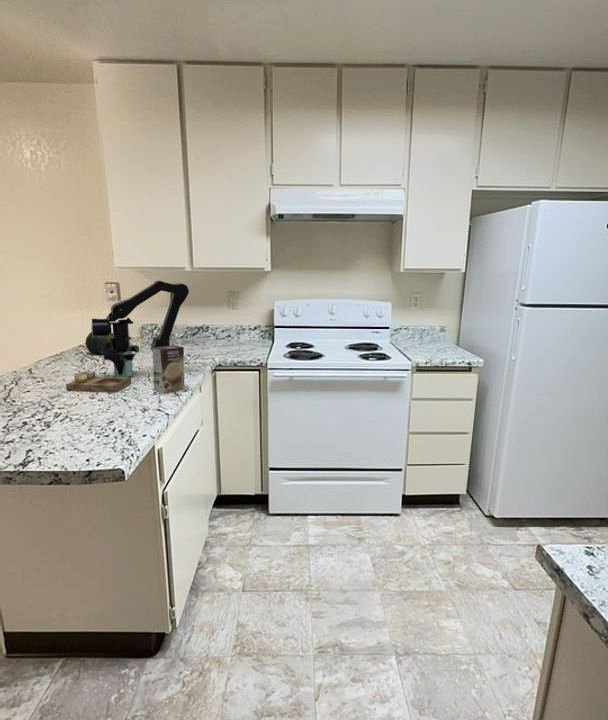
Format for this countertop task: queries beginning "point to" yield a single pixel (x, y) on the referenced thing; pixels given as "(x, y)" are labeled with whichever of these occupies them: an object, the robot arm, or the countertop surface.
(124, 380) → the puzzle board
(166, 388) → the coffee box
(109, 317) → the robot arm
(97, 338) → the squash
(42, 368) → the countertop surface
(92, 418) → the countertop surface
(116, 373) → the teal block
